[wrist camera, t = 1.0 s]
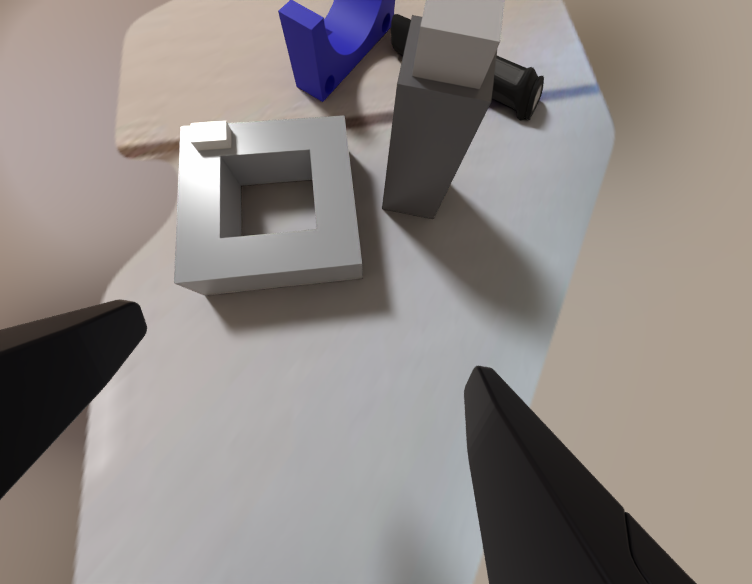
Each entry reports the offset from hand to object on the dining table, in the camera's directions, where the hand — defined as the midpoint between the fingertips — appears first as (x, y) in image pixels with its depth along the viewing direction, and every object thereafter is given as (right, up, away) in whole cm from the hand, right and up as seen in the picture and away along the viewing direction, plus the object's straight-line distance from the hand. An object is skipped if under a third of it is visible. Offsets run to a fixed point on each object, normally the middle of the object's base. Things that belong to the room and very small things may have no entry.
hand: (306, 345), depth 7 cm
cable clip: (-2, +25, +20) cm, 32 cm away
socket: (-6, +8, +15) cm, 18 cm away
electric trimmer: (+10, +22, +20) cm, 32 cm away
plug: (+5, +10, +17) cm, 20 cm away
